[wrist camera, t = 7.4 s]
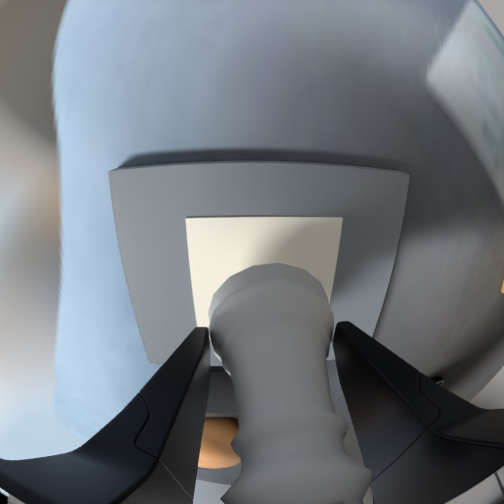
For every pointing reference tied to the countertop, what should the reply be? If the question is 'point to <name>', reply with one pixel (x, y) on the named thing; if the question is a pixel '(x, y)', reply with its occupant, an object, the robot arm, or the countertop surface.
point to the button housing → (221, 396)
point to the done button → (218, 443)
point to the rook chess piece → (283, 389)
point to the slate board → (252, 236)
